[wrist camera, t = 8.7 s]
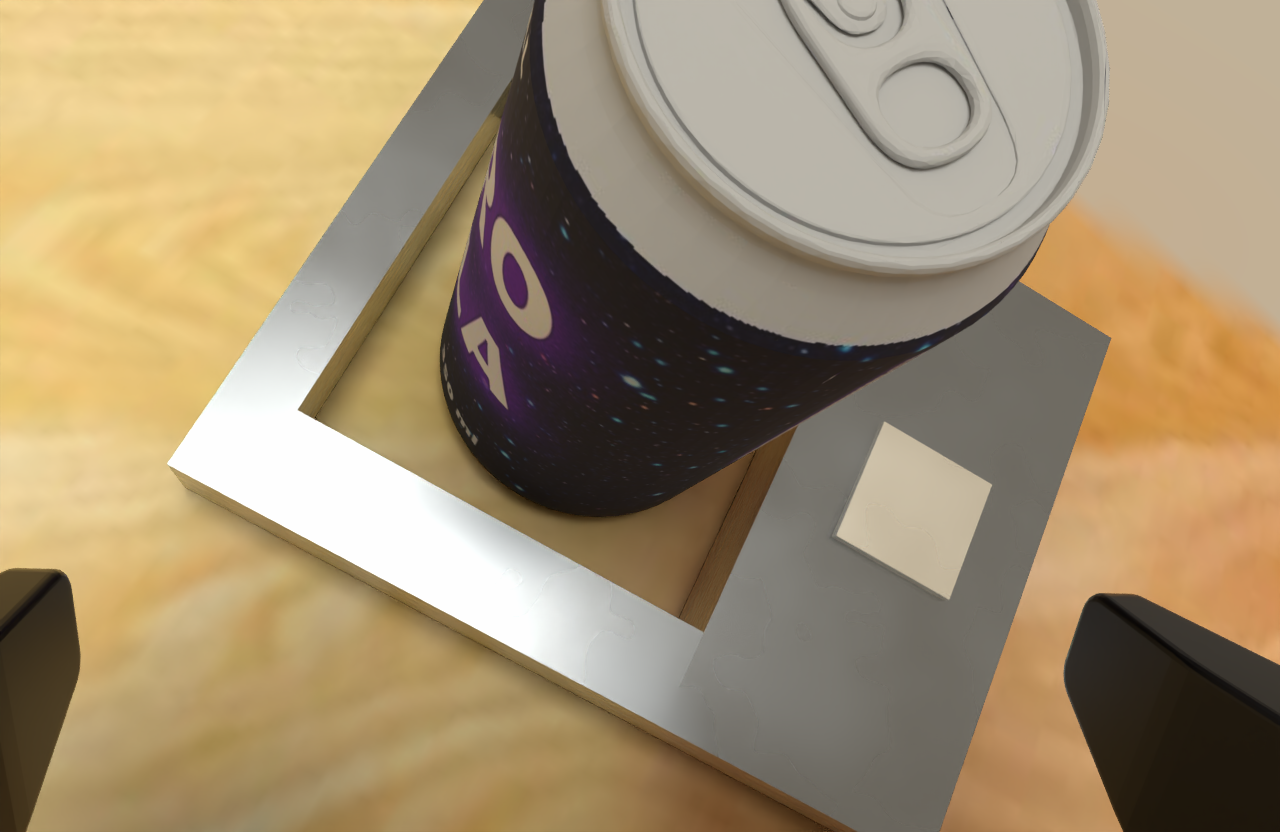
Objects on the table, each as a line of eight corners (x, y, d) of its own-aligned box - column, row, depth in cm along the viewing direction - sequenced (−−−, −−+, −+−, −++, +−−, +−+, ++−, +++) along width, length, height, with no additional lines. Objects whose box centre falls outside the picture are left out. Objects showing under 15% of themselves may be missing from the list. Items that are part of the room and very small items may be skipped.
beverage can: (622, 195, 22) (921, -329, 10) (775, 428, 21) (1253, 143, 10) (377, 323, 20) (423, -152, 9) (541, 582, 19) (813, 439, 8)
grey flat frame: (1050, 366, 23) (1117, 335, 21) (871, 851, 20) (932, 869, 18) (493, 28, 22) (508, -41, 20) (184, 487, 18) (165, 461, 16)
